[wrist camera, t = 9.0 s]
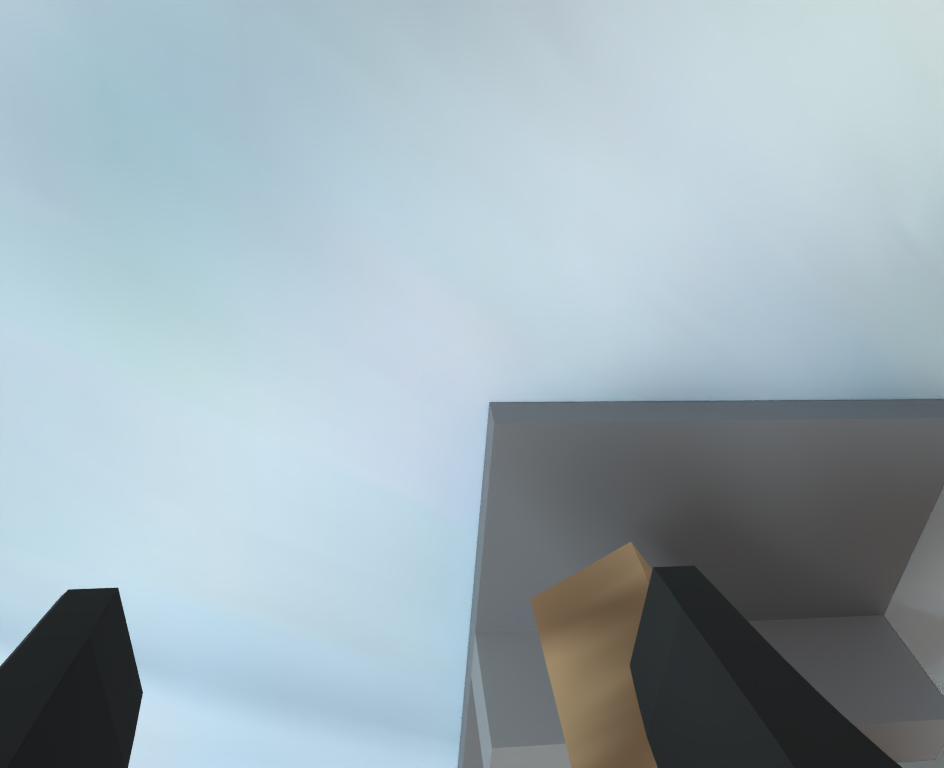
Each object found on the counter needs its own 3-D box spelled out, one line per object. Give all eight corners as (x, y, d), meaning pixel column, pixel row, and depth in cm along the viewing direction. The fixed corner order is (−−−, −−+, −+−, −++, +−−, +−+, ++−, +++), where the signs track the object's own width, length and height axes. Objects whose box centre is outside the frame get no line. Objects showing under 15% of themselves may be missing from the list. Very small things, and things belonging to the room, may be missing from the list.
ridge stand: (953, 399, 23) (1083, 507, 19) (790, 767, 32) (854, 896, 28) (489, 402, 21) (519, 522, 17) (455, 791, 31) (469, 932, 26)
